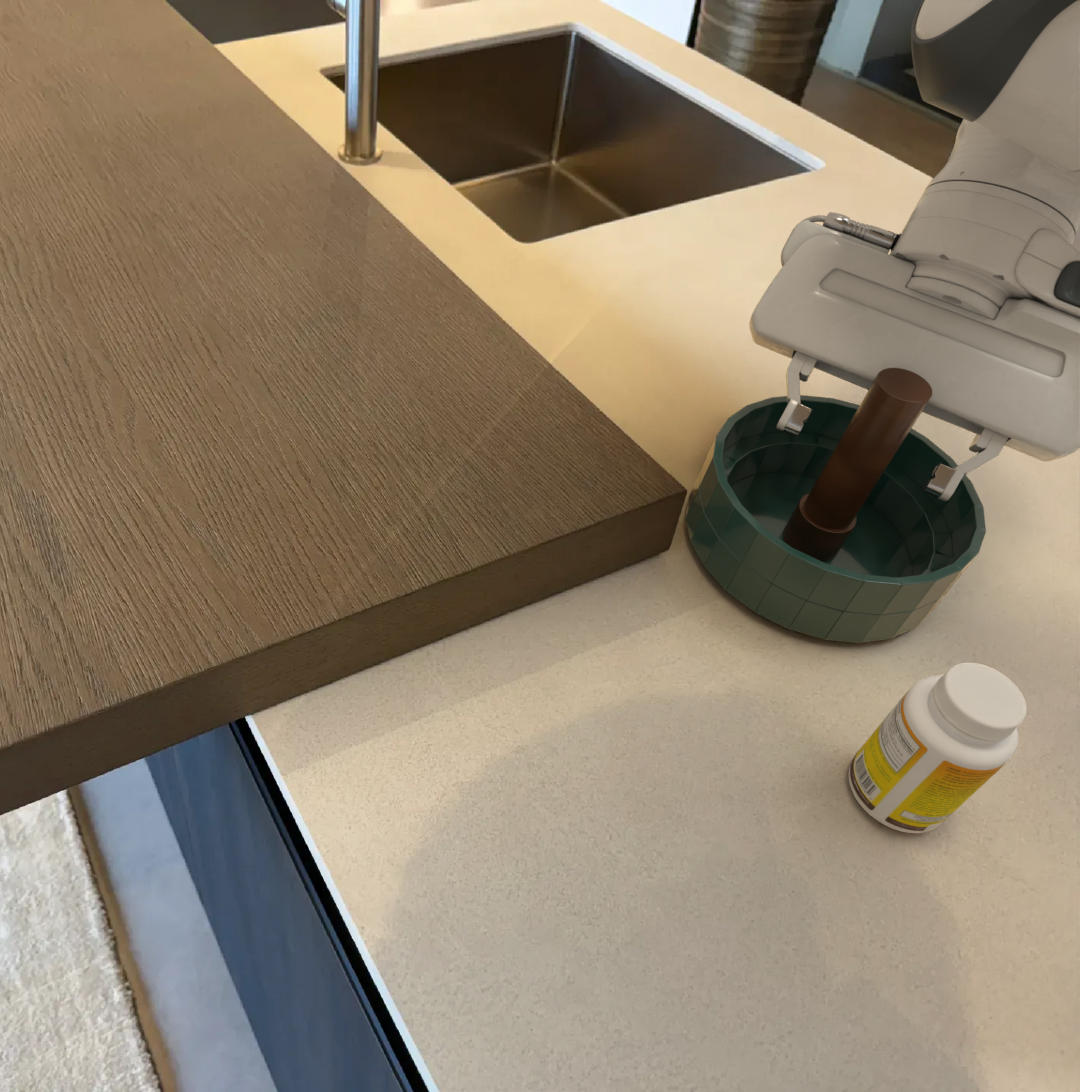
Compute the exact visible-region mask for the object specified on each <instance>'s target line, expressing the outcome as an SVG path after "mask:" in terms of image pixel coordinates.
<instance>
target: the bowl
mask: <svg viewBox="0 0 1080 1092" xmlns="http://www.w3.org/2000/svg"><path fill="white" fill-rule="evenodd" d="M800 400H801V403H800V404H802V405H804V406H806V407H809V408H811V409H812V411H811V413H810V415H809V417H808V419H807V421H806V423H804V426H803V428H802V430H801V432H800V434H799V436H798V437H796V436H793V435H791V434H789V433H786V432H784V431H782V430H779V429H777V428H776V427H777V424H778V422H779V420H780V418H781V416H782V414H783V413H784V411H785V409H786V407H787V405H788V404H787V395H783V396H771V397H768V398H765V399H762V400H759V401H756V402H752V403H749V404H747V405H745V406H744V407H741V409H739V410H738V411H736V412H735V413H732V415H731V416H729V417H728V418H727V419H726V420H725V421H724V423H723V424H722V426H721V428H720V429H719V430H718V432H717V434H716V435H715V437H714V440H713V442H712V444H711V447H710V448H709V451H708V453H707V455H706V458H705V460H704V462H703V464H702V467H701V469H700V471H699V473H698V475H697V478H696V480H695V482H694V485H693V487H692V488H691V491H690V492H689V496H688V499H687V505H686V506H687V507H686V513H685V522H686V527H687V532H688V536H689V541H690V544H691V545H692V548H693V549H694V552H695V553H696V555H697V557H698V558H699V560H700V562H701V564H702V565H703V567H704V568H705V570H706V571H707V572H708V573H709V574H710V575H711V577H713V578H714V579H715V581H716V582H717V583H718V584H719V586H721V587H722V588H723V589H724V591H726V592H727V593H728V594H729V595H730V596H732V597H733V598H735V599H736V600H737V601H739V602H740V603H741V604H743V605H744V606H745V607H747V608H748V609H749V610H750V611H752V612H753V613H755V614H757V615H759V616H761V617H763V618H765V619H767V620H769V621H771V622H773V623H775V624H777V625H779V626H781V627H782V628H783V627H784V628H785V629H787V630H790V631H793V632H797V633H801V634H803V635H808V636H811V637H815V638H817V639H821V640H825V641H833V642H834V641H835V642H845V643H854V644H855V643H856V644H862V643H869V642H878V641H883V640H884V641H885V640H891V639H895V638H896V637H898V636H900V635H902V634H905V633H907V632H910V631H912V630H913V629H916V628H917V627H919V625H920V624H921V623H922V622H923V621H924V620H925V619H926V618H927V617H928V616H929V615H930V614H931V613H932V612H934V610H935V609H936V607H937V606H938V605H939V604H940V603H941V601H942V600H943V599H944V597H945V596H946V595H947V593H948V592H949V591H950V590H951V588H953V586H954V585H955V584H956V582H957V581H959V578H960V577H961V576H962V575H963V573H964V572H965V571H966V570H967V568H969V566H970V565H971V563H972V562H973V561H974V560H975V558H976V557H977V556H978V555H979V553H980V551H981V548H982V545H983V542H984V540H985V539H984V538H985V536H986V533H987V528H986V527H987V525H986V517H985V509H984V505H983V502H982V501H981V498H980V497H979V494H978V492H977V490H976V488H975V486H974V484H973V482H972V481H971V479H970V478H969V477H968V476H967V474H966V475H964V476H963V477H962V479H961V481H960V482H959V484H958V486H957V488H956V489H955V491H954V493H953V494H952V496H951V497H950V499H949V500H947V501H943V500H941V499H938V498H936V497H934V496H932V495H930V494H927V493H925V492H923V491H922V489H923V487H924V485H925V483H926V482H928V481H929V480H930V475H931V473H932V471H933V469H934V468H935V466H937V465H938V464H940V463H941V464H944V465H946V466H949V467H951V468H955V467H957V466H958V465H959V464H958V463H957V462H956V461H955V460H954V459H953V458H952V457H951V456H950V454H949V455H948V454H947V453H946V452H945V451H944V450H943V449H941V448H940V447H939V446H938V445H937V444H935V442H933V441H932V440H931V439H930V438H929V437H927V436H926V435H924V434H922V433H920V432H919V431H917V430H916V429H914V428H913V427H912V428H911V430H910V431H909V433H908V434H907V436H906V438H905V439H904V441H903V442H902V444H901V445H900V447H899V449H898V450H897V452H896V453H895V455H894V456H893V458H892V460H891V461H890V463H889V464H888V466H887V467H886V469H885V471H884V472H883V474H882V475H881V477H880V478H879V480H878V482H877V483H876V485H875V486H874V488H873V490H872V491H871V493H870V494H869V496H868V497H867V499H866V501H865V502H864V504H863V505H862V507H861V508H860V510H859V512H858V513H857V515H856V518H857V522H856V525H855V527H854V528H853V530H852V532H851V533H850V535H849V536H848V538H847V539H846V541H845V542H844V544H843V546H842V547H841V549H840V550H839V552H838V553H837V555H836V556H835V557H834V558H833V559H831V560H829V561H824V562H822V561H820V560H817V559H815V558H813V557H811V556H809V555H807V554H805V553H803V552H800V551H798V550H796V549H794V548H792V547H791V546H789V545H788V544H787V543H785V542H784V539H783V530H784V528H785V526H786V524H787V523H788V521H789V519H790V517H791V515H792V514H793V512H794V510H795V508H796V507H797V505H798V503H799V501H800V500H801V498H802V497H803V496H805V495H806V494H808V493H810V492H811V490H812V488H813V486H814V485H815V483H816V481H817V479H818V478H819V476H820V474H821V472H822V471H823V469H824V467H825V465H826V464H827V462H828V460H829V458H830V457H831V455H832V453H833V451H834V450H835V448H836V446H837V444H838V443H839V441H840V439H841V437H842V436H843V434H844V432H845V430H846V429H847V427H848V425H849V423H850V422H851V420H852V418H853V416H854V415H855V413H856V411H857V409H858V408H859V406H860V404H857V403H852V402H850V401H845V400H841V399H837V398H833V397H826V396H825V397H824V396H817V395H815V396H813V395H804V394H800Z"/></svg>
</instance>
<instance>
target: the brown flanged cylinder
mask: <svg viewBox="0 0 1080 1092" xmlns="http://www.w3.org/2000/svg"><path fill="white" fill-rule="evenodd" d="M931 397H932V388H931V386H930V384H929V383H928V382H927V381H926V380H925V379H924V378H922V377H921V376H919V375H918V374H916V373H914V372H911V371H909V370H906V369H901V368H886V369H883V370H882V371H880V372H879V373H878V374H877V376H876V378H875V380H874V381H873V383H872V385H871V387H870V388H869V390H867V392H866V394H865V396H863V399H862V400H861V402H860V404H859V405H860V406H859V408H858V409H857V411H856V413H855V415H854V416H853V418H852V420H851V422H850V423H849V425H848V427H847V429H846V430H845V432H844V434H843V436H842V437H841V439H840V441H839V443H838V444H837V446H836V448H835V450H834V451H833V453H832V455H831V457H830V458H829V460H828V462H827V464H826V465H825V467H824V469H823V471H822V472H821V474H820V476H819V478H818V479H817V481H816V483H815V485H814V486H813V488H812V490H811V492H810V493H808V494H806V495H805V496H803V497H802V498H801V500H800V501H799V503H798V505H797V507H796V508H795V510H794V512H793V514H792V515H791V517H790V519H789V521H788V523H787V524H786V526H785V528H784V530H783V539H784V542H785V543H787V544H788V545H789V546H791V547H792V548H794V549H796V550H798V551H800V552H803V553H805V554H807V555H809V556H811V557H813V558H815V559H817V560H820V561H822V562H824V561H829V560H831V559H833V558H834V557H835V556H836V555H837V553H838V552H839V550H840V549H841V547H842V546H843V544H844V542H845V541H846V539H847V538H848V536H849V535H850V533H851V532H852V530H853V528H854V527H855V525H856V522H857V518H856V515H857V513H858V512H859V510H860V508H861V507H862V505H863V504H864V502H865V501H866V499H867V497H868V496H869V494H870V493H871V491H872V490H873V488H874V486H875V485H876V483H877V482H878V480H879V478H880V477H881V475H882V474H883V472H884V471H885V469H886V467H887V466H888V464H889V463H890V461H891V460H892V458H893V456H894V455H895V453H896V452H897V450H898V449H899V447H900V445H901V444H902V442H903V441H904V439H905V438H906V436H907V434H908V433H909V431H910V430H911V428H912V429H913V427H914V425H915V424H916V422H917V420H918V418H919V417H920V416H921V414H922V413H923V412H922V411H923V409H924V408H925V406H926V404H927V403H928V401H929V400H930V398H931Z"/></svg>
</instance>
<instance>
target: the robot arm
mask: <svg viewBox="0 0 1080 1092" xmlns="http://www.w3.org/2000/svg"><path fill="white" fill-rule="evenodd" d="M910 28H911V29H910V49H911V58H912V65H913V72H914V76H915V79H916V83H917V87H918V91H919V93H920V97H921V100H922V101H923V102H925V103H927V104H929V105H932V106H934V107H935V108H938V109H940V110H942V111H945V112H947V113H949V114H952V115H954V116H956V117H959V118H961V119H962V121H961V123H960V125H959V127H958V129H957V133H956V136H955V143H954V146H953V149H952V152H951V155H950V156H949V159H948V160H947V162H946V163H945V165H944V166H943V167H942V168H941V170H940V171H939V172H938V173H937V174H935V176H934V177H932V179H931V180H930V181H929V183H928V184H927V186H926V187H925V188H924V191H923V192H922V194H921V196H920V197H919V200H918V201H917V203H916V205H915V207H914V209H913V210H912V212H911V214H910V216H909V217H908V220H907V222H906V224H904V227H903V228H902V231H901V233H899V234H898V233H895V232H893V231H890V230H887V229H884V228H881V227H878V226H875V225H871V224H867V223H866V224H865V223H863V222H862V223H861V222H859V221H856V220H854V219H851V218H850V216H847V215H844V214H842V213H838V212H832V211H830V212H828V213H827V215H823V214H822V215H821V214H818V215H811V216H809V217H806V218H803V219H802V220H801V221H799V222H798V223H797V224H796V225H795V226H794V228H793V229H792V231H791V232H790V233H789V236H788V238H787V239H786V241H785V243H784V246H783V248H782V249H781V253H780V263H781V268H780V270H778V272H777V274H776V275H775V277H774V278H773V279H772V281H771V282H770V283H769V285H768V287H767V288H766V290H764V292H763V294H762V296H761V298H760V299H759V301H758V303H757V304H756V305H755V308H754V310H753V311H752V313H751V316H750V319H749V322H748V327H749V331H750V335H751V338H752V341H753V343H754V344H756V345H757V346H760V347H762V348H764V349H767V350H769V351H771V352H774V353H776V354H780V355H781V356H784V357H787V358H789V359H791V360H790V363H789V364H788V366H787V368H786V372H785V387H786V388H785V389H786V396H787V404H788V405H787V407H786V409H785V411H784V413H783V414H782V416H781V418H780V420H779V422H778V424H777V427H776V428H777V429H779V430H782V431H784V432H786V433H789V434H791V435H793V436H796V437H798V436H799V434H800V432H801V430H802V428H803V426H804V423H806V421H807V419H808V417H809V415H810V413H811V411H812V409H811V408H809V407H806V406H804V405H802V404H800V403H801V400H800V395H801V385H800V384H801V383H800V382H804V383H806V382H808V380H809V378H810V377H811V375H812V373H813V371H814V370H815V369H816V370H818V371H820V372H823V373H825V374H828V375H830V376H833V377H836V378H838V379H841V380H843V381H845V382H848V383H850V384H853V385H855V386H857V387H859V388H863V389H865V390H867V391H868V390H869V388H870V387H871V385H872V383H873V381H874V380H875V378H876V376H877V374H878V373H879V372H880V371H882V370H883V369H886V368H901V369H906V370H909V371H911V372H914V373H916V374H918V375H919V376H921V377H922V378H924V379H925V380H926V381H927V382H928V383H929V384H930V386H931V388H932V397H931V398H930V400H929V401H928V403H927V404H926V406H925V408H924V409H923V411H922V412H921V413H924V414H926V415H929V416H931V417H933V418H936V419H939V420H941V421H943V422H946V423H949V424H951V425H952V426H956V427H958V428H960V429H963V430H965V431H968V432H970V433H973V434H975V435H974V438H973V439H972V441H971V443H970V445H969V447H968V450H969V451H970V452H972V453H975V455H973V456H972V457H970V458H968V459H967V460H965V461H963V462H962V463H960V464H957V465H958V466H957V467H955V468H951V467H949V466H946V465H944V464H941V463H940V464H938V465H937V466H935V468H934V469H933V471H932V473H931V475H930V480H929V481H928V482H926V483H925V485H924V487H923V489H922V491H923V492H925V493H927V494H930V495H932V496H934V497H936V498H938V499H941V500H943V501H947V500H949V499H950V497H951V496H952V494H953V493H954V491H955V489H956V488H957V486H958V484H959V482H960V481H961V479H962V477H963V476H964V475H966V476H967V475H968V474H969V473H971V472H972V471H975V470H976V469H978V468H980V467H982V466H983V465H985V464H986V463H988V462H990V461H992V460H993V459H994V458H996V457H998V456H999V455H1000V453H1001V451H1002V450H1003V449H1004V446H1005V447H1007V448H1009V449H1012V450H1015V451H1016V452H1019V453H1021V454H1024V455H1026V456H1028V457H1032V458H1033V459H1036V460H1039V461H1042V462H1053V461H1056V460H1059V459H1063V458H1066V457H1068V456H1070V455H1072V454H1074V453H1075V452H1077V451H1079V450H1080V250H1079V249H1077V248H1076V247H1075V246H1074V245H1073V242H1074V241H1075V239H1076V236H1077V233H1078V229H1079V227H1080V0H921V2H920V4H919V5H918V8H917V10H916V12H915V15H914V17H913V20H912V24H911V27H910ZM819 223H822V225H821V224H819Z"/></svg>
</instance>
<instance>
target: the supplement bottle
mask: <svg viewBox="0 0 1080 1092" xmlns="http://www.w3.org/2000/svg"><path fill="white" fill-rule="evenodd" d="M1022 693H1023V692H1022V691H1021V690H1020V689H1019V687H1018V686H1017V685H1016V683H1014V681H1012V680H1011V679H1010V677H1008V676H1006V675H1005V674H1004V673H1002V672H1001V671H999V670H997V669H995V668H993V667H990V666H988V665H986V664H982V663H978V662H961V663H957V664H955V665H953V666H951V667H950V668H949V669H948V670H947V671H946V672H945V674H936V675H930V676H926V677H924V678H922V679H920V680H918V681H916V682H915V683H914V684H913V685H912V686H911V687H909V689H908V690H907V691H906V693H905V694H904V695H903V696H902V698H901V699H900V700H899V701H898V702H897V704H896V705H895V706H894V707H893V708H892V709H891V710H890V712H889V713H888V714H887V715H886V717H884V719H883V720H882V722H881V723H880V724H879V726H877V728H876V729H875V730H874V731H873V733H872V734H871V735H870V736H869V737H868V739H867V740H866V741H865V742H864V743H863V744H862V746H861V747H860V748H859V749H858V751H857V752H856V753H855V755H854V756H853V757H852V759H851V762H850V763H849V768H848V783H849V786H850V789H851V792H852V794H853V796H854V798H855V800H856V801H857V803H858V804H859V805H860V807H861V808H862V809H863V810H864V811H865V812H866V813H867V814H868V815H869V816H870V817H872V818H873V819H874V820H876V821H877V822H879V823H880V824H882V825H884V826H886V827H887V828H890V829H893V830H895V831H899V832H901V833H907V834H922V833H923V834H924V833H928V832H931V831H933V830H935V829H936V828H938V827H939V826H941V825H942V824H943V823H944V822H946V821H947V820H948V819H949V818H950V817H951V816H952V815H953V814H954V813H955V812H956V811H957V810H958V809H959V808H960V807H961V806H962V805H964V804H965V802H967V800H969V799H970V798H971V797H972V796H973V795H974V794H975V793H976V792H977V791H978V790H979V789H981V787H982V786H983V785H985V784H986V782H988V781H989V780H990V779H991V778H992V777H993V776H994V775H995V774H996V773H997V772H998V771H1000V769H1001V768H1003V767H1004V766H1005V765H1006V764H1007V762H1009V761H1010V759H1011V758H1012V757H1013V756H1014V755H1015V753H1016V751H1017V749H1018V744H1019V732H1018V731H1019V730H1018V727H1019V725H1021V724H1022V722H1023V721H1024V720H1025V718H1026V715H1027V702H1026V699H1025V697H1024V695H1023V694H1022Z"/></svg>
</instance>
